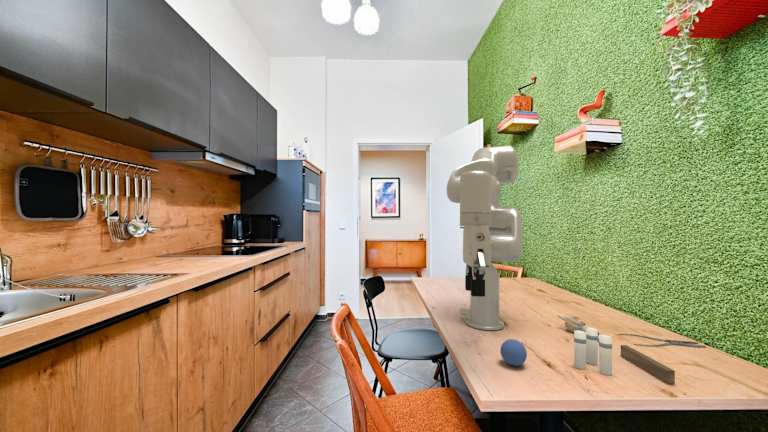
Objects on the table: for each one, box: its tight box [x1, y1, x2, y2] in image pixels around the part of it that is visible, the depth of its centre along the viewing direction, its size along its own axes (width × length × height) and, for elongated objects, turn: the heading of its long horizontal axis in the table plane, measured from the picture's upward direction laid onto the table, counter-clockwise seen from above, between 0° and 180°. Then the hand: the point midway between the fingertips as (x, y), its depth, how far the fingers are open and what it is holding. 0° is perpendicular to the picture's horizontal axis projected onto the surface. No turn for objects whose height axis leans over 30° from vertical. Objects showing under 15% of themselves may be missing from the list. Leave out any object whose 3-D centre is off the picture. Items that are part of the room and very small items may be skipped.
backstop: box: [620, 344, 676, 385], centre depth 73 cm, size 2×14×3 cm, turn 177°
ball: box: [499, 338, 528, 367], centre depth 74 cm, size 6×6×6 cm
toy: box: [557, 314, 600, 341], centre depth 96 cm, size 10×5×15 cm
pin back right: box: [598, 333, 613, 376], centre depth 71 cm, size 2×2×8 cm
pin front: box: [573, 330, 587, 370], centre depth 74 cm, size 2×2×8 cm
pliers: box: [618, 333, 707, 349], centre depth 91 cm, size 10×1×20 cm
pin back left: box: [586, 326, 599, 366], centre depth 76 cm, size 2×2×8 cm
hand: (474, 292), depth 75 cm, fingers open, 5 cm apart
